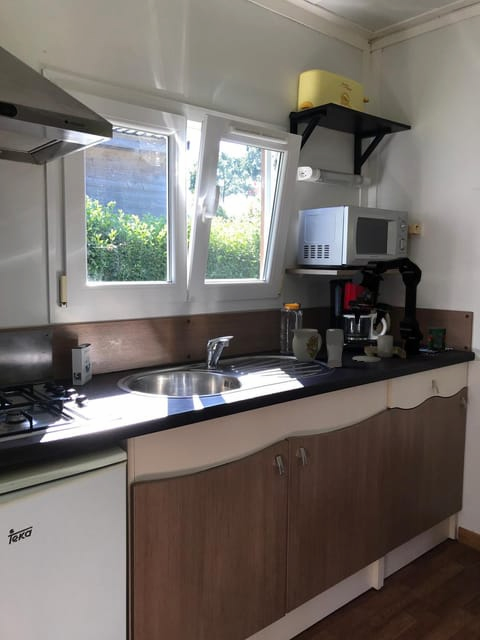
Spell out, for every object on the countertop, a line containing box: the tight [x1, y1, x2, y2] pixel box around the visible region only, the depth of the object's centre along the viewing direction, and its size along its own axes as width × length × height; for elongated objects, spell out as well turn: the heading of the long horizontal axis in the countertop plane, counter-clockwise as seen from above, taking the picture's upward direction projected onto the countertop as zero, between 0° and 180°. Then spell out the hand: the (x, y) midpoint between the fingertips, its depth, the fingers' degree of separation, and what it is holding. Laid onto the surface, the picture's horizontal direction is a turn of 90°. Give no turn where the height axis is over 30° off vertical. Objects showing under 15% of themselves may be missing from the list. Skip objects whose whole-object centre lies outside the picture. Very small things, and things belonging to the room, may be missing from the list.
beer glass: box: [325, 328, 345, 369], centre depth 222 cm, size 7×7×15 cm
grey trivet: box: [352, 355, 382, 363], centre depth 238 cm, size 12×12×1 cm
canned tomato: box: [427, 326, 447, 353], centre depth 262 cm, size 8×8×11 cm
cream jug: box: [376, 334, 394, 358], centre depth 246 cm, size 9×7×9 cm
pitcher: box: [291, 328, 323, 363], centre depth 236 cm, size 11×18×14 cm, turn 130°
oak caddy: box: [364, 346, 407, 359], centre depth 248 cm, size 15×14×3 cm
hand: (366, 325), depth 234 cm, fingers open, 9 cm apart
